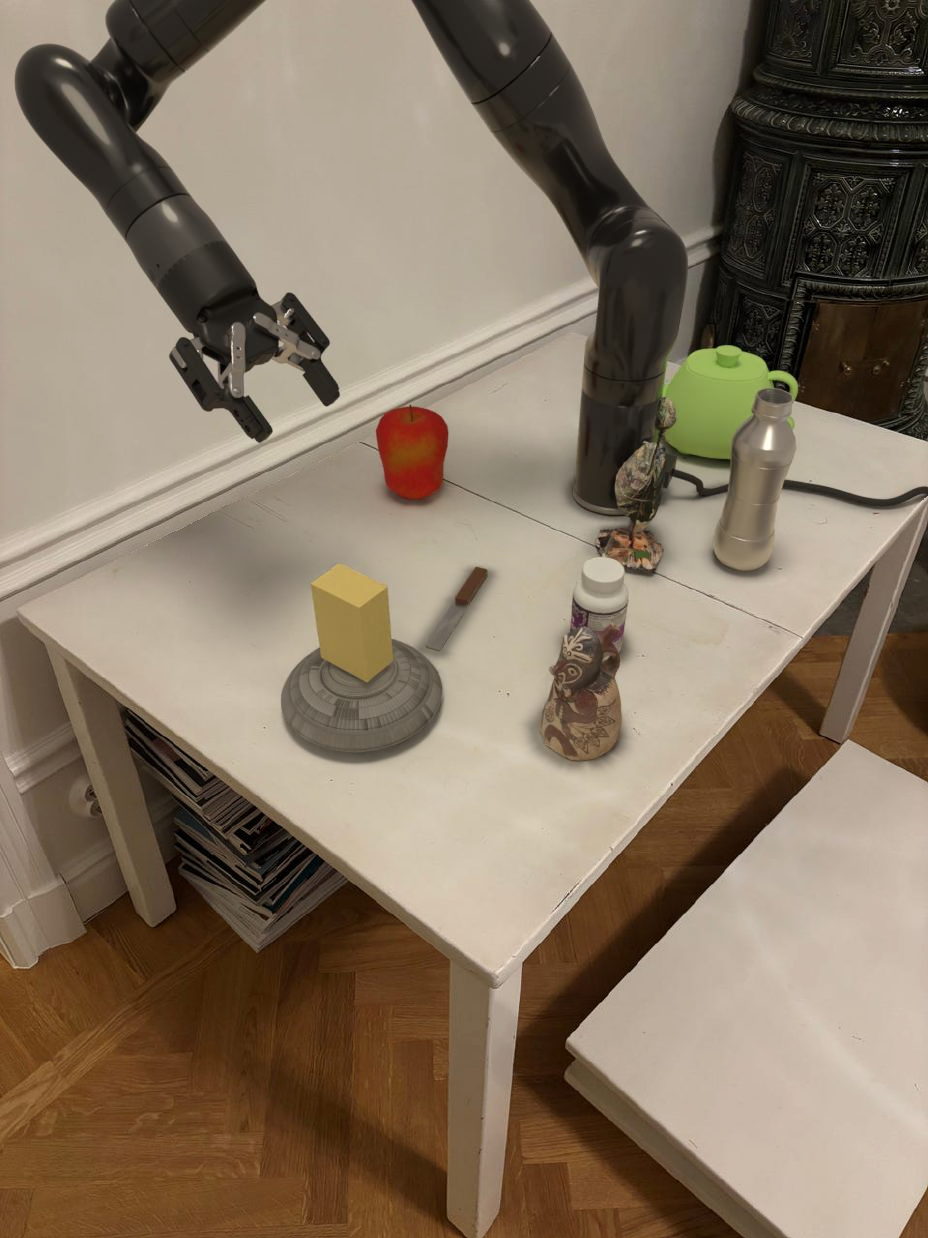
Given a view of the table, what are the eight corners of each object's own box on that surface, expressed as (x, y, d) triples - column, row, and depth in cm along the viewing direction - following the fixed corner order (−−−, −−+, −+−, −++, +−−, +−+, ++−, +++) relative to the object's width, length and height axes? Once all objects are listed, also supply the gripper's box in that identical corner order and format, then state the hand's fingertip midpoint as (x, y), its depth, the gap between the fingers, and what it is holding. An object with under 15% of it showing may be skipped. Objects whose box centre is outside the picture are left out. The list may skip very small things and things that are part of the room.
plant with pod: (676, 529, 111) (702, 369, 98) (652, 583, 102) (678, 416, 90) (609, 514, 113) (626, 357, 100) (581, 566, 105) (596, 401, 92)
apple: (371, 504, 115) (363, 416, 108) (393, 470, 121) (387, 385, 114) (438, 514, 113) (435, 425, 106) (457, 479, 120) (455, 393, 112)
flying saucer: (381, 787, 81) (376, 744, 77) (249, 722, 87) (239, 678, 83) (472, 684, 90) (472, 641, 87) (348, 632, 97) (343, 590, 93)
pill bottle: (564, 629, 97) (570, 553, 90) (615, 626, 97) (625, 550, 91) (573, 665, 92) (580, 587, 86) (627, 661, 93) (637, 584, 87)
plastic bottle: (736, 584, 102) (773, 417, 89) (697, 552, 107) (726, 389, 94) (781, 568, 104) (824, 402, 92) (741, 537, 109) (776, 376, 96)
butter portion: (347, 637, 88) (339, 563, 82) (393, 660, 85) (387, 586, 79) (320, 657, 85) (310, 583, 80) (366, 683, 83) (359, 607, 77)
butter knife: (474, 572, 104) (474, 565, 104) (488, 575, 104) (488, 569, 103) (425, 647, 95) (425, 640, 94) (440, 650, 94) (439, 644, 94)
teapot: (613, 456, 124) (623, 362, 116) (631, 405, 135) (641, 316, 127) (786, 480, 119) (809, 383, 110) (790, 425, 130) (811, 334, 122)
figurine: (531, 710, 88) (536, 610, 80) (603, 698, 89) (615, 598, 81) (554, 767, 82) (562, 665, 75) (630, 753, 83) (646, 652, 76)
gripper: (138, 263, 75) (259, 432, 77) (267, 218, 84) (373, 370, 86) (113, 313, 81) (226, 469, 83) (236, 266, 90) (336, 408, 92)
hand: (301, 418), depth 85 cm, fingers open, 8 cm apart
